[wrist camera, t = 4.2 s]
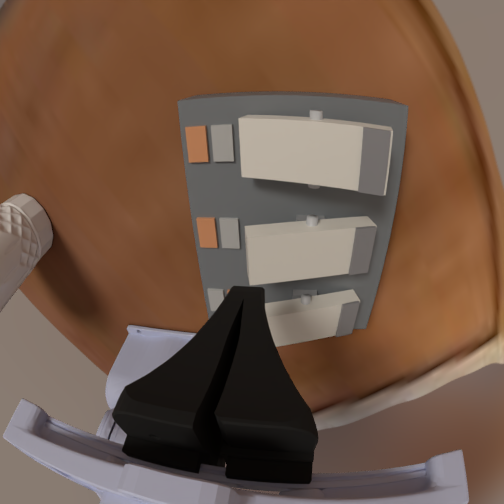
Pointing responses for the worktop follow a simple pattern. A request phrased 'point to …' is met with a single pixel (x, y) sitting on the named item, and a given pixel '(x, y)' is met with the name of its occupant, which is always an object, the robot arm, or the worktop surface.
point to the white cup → (21, 242)
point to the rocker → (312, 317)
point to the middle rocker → (308, 249)
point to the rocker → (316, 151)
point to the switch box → (277, 190)
